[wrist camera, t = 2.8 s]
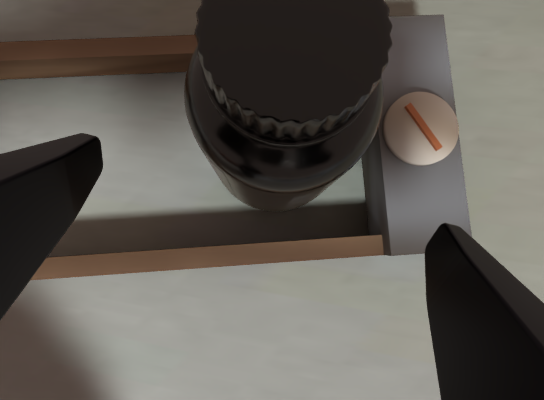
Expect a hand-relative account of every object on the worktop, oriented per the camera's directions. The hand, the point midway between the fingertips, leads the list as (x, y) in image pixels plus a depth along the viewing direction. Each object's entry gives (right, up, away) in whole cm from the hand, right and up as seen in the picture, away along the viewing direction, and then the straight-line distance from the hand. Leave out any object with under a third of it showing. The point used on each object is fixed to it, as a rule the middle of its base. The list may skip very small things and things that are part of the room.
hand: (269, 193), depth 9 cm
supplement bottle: (0, +2, +11) cm, 11 cm away
